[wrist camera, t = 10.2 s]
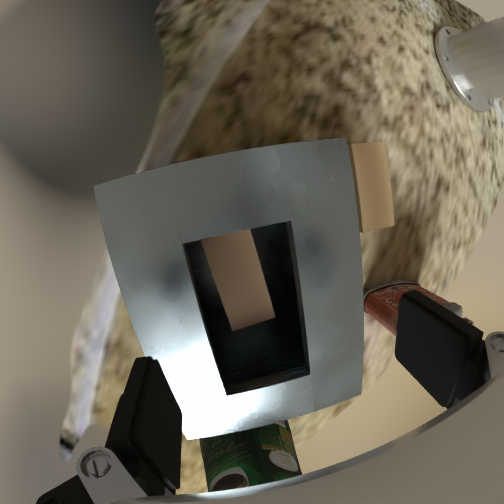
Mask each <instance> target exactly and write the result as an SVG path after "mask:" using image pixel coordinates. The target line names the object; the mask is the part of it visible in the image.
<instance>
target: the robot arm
mask: <svg viewBox="0 0 504 504" xmlns="http://www.w3.org/2000/svg"><path fill="white" fill-rule="evenodd" d="M435 48H436V53H437V56H438V60H439V63H440V65H441V67H442V70H443V72H444V74H445V76H446V78H447V80H448V81H449V83H450V85H451V87H452V88H453V90H454V91H455V92H456V94H457V95H458V96H459V98H460V99H461V100H462V101H463V102H464V103H465V104H466V105H467V106H468V107H470V108H471V109H472V110H474V111H477V112H484V111H488V110H489V109H491V107H492V105H493V102H494V98H501V97H504V17H502V18H499V19H495V20H493V21H490V22H487V23H484V24H481V25H478V26H476V27H473V28H470V29H468V30H465V31H463V32H461V31H460V30H458V29H456V28H454V27H451V26H445V27H443V28H440V29H439V30H438V31H437V33H436V35H435ZM483 333H484V332H482V331H481V330H479V329H478V328H476V327H475V326H473V325H472V324H470V323H469V322H467V321H466V320H464V319H463V318H461V317H459V316H458V315H456V314H455V313H453V312H452V311H450V310H448V309H447V308H445V307H444V306H442V305H441V304H439V303H437V302H436V301H434V300H432V299H431V298H429V297H428V296H426V295H424V294H423V293H421V292H419V291H418V290H415V289H414V290H411V291H408V292H406V293H403V294H402V296H401V298H400V299H399V305H398V322H397V334H396V344H395V357H396V359H397V360H398V361H399V362H400V363H401V364H402V365H403V366H404V367H405V368H406V369H407V370H408V372H409V373H410V374H411V375H412V376H413V377H414V378H415V379H416V380H417V381H418V382H419V383H420V384H421V385H422V386H423V387H424V388H425V389H426V390H427V392H428V393H430V395H431V396H432V397H433V398H434V399H435V400H436V401H437V402H438V403H439V404H440V405H441V406H442V407H446V408H447V409H448V410H446V411H445V412H443V413H442V414H440V415H438V416H437V417H435V418H434V419H432V420H430V421H428V422H427V423H425V424H423V425H421V426H420V427H418V428H416V429H414V430H413V431H410V432H409V433H407V434H405V435H403V436H401V437H399V438H397V439H395V440H393V441H391V442H389V443H386V444H385V445H382V446H380V447H378V448H376V449H373V450H371V451H369V452H366V453H364V454H361V455H359V456H357V457H354V458H351V459H349V460H346V461H343V462H341V463H338V464H335V465H332V466H329V467H326V468H323V469H320V470H317V471H313V472H310V473H307V474H303V475H300V476H296V477H292V478H288V479H284V480H280V481H276V482H271V483H266V484H261V485H256V486H250V487H244V488H238V489H231V490H224V491H216V492H207V493H196V494H180V495H175V492H176V489H179V488H180V469H181V442H182V423H183V415H182V411H181V408H180V406H179V404H178V402H177V400H176V398H175V396H174V394H173V392H172V390H171V388H170V385H169V383H168V381H167V379H166V377H165V375H164V372H163V370H162V368H161V366H160V363H159V361H158V360H157V359H153V358H152V357H151V356H147V357H139V358H136V359H135V361H134V364H133V367H132V370H131V372H130V375H129V378H128V381H127V384H126V387H125V390H124V393H123V394H122V395H121V397H120V399H119V402H118V405H117V408H116V411H115V415H114V418H113V421H112V424H111V428H110V431H109V434H108V438H107V441H106V445H105V447H93V448H91V449H88V450H86V451H85V452H84V453H82V454H81V456H80V457H79V459H78V461H77V463H76V470H77V473H78V475H76V476H74V477H73V478H71V479H69V480H68V481H66V482H64V483H63V484H61V485H59V486H57V487H56V488H54V489H52V490H50V491H49V492H47V493H45V494H43V495H42V496H41V497H39V499H38V500H37V502H36V504H504V332H493V333H491V334H489V335H488V336H487V337H486V339H485V341H484V340H482V337H483Z"/></svg>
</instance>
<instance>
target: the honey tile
mask: <svg viewBox="0 0 504 504" xmlns="http://www.w3.org/2000/svg"><path fill="white" fill-rule="evenodd" d="M348 149H349V155H350V161H351V167H352V174H353V181H354V188H355V195H356V203H357V212H358V221H359V232H362V233H364V232H369V231H373V230H377V229H382V228H386V227H390V226H395V225H394V212H393V201H392V191H391V182H390V175H389V167H388V160H387V154H386V148H385V142H370V143H354V144H348Z"/></svg>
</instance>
